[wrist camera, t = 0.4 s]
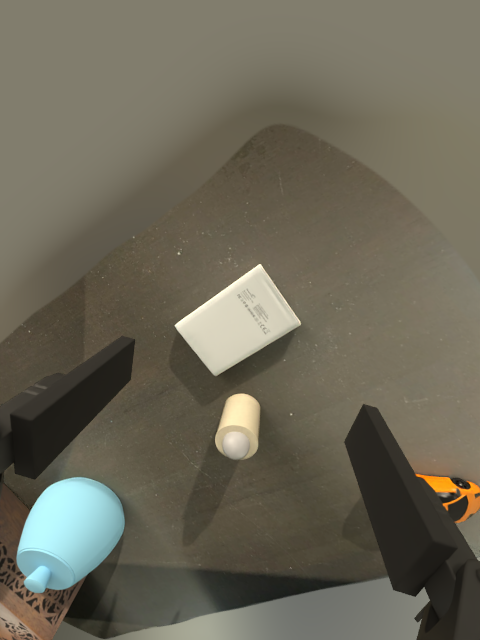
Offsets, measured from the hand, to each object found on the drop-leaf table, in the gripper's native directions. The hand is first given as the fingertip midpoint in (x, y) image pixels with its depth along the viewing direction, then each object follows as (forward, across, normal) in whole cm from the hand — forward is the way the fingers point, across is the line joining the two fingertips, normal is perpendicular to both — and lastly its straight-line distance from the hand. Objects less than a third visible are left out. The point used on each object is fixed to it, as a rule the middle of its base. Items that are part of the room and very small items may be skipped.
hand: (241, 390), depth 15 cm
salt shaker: (+17, +2, -15) cm, 22 cm away
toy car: (+17, +29, -19) cm, 38 cm away
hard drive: (+17, -2, -2) cm, 17 cm away
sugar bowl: (+17, -19, -43) cm, 50 cm away
